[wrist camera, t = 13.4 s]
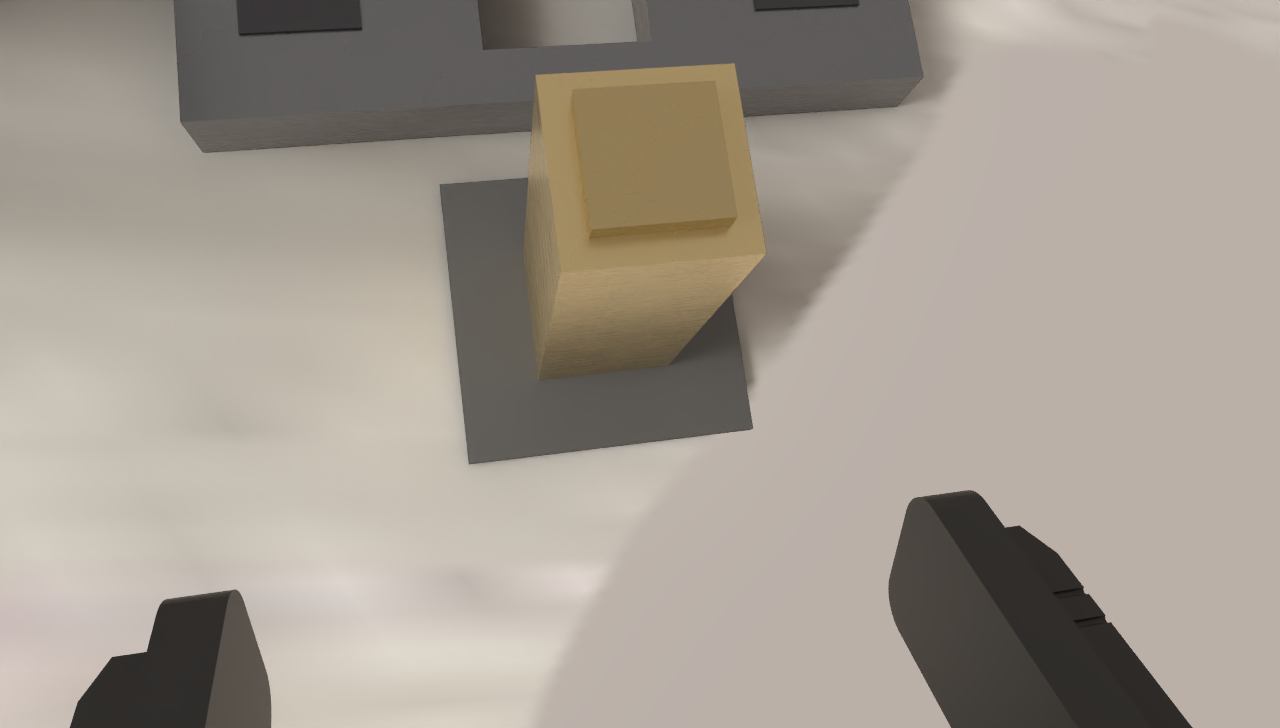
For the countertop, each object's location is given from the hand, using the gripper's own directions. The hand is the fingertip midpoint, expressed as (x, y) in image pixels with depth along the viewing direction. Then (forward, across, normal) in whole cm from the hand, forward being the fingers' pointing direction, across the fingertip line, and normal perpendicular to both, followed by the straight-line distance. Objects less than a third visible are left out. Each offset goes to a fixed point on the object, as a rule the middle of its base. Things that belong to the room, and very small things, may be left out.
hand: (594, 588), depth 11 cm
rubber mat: (+21, -4, +9) cm, 23 cm away
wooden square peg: (+21, -4, +9) cm, 23 cm away
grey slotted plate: (+30, -4, +1) cm, 30 cm away
